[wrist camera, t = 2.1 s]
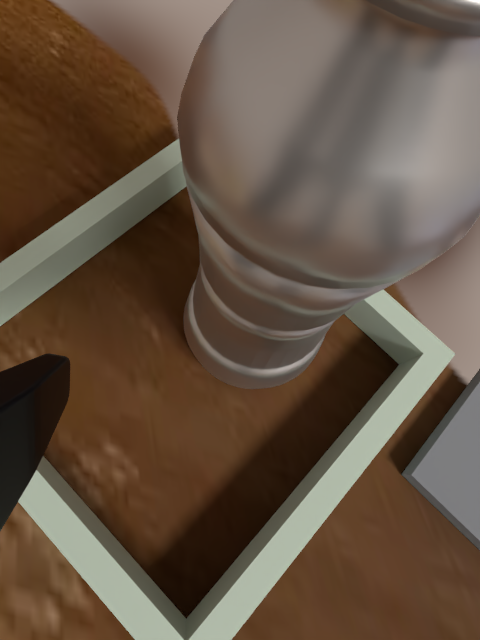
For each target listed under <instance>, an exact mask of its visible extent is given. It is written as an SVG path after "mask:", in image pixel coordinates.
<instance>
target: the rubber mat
mask: <svg viewBox="0 0 480 640" xmlns="http://www.w3.org/2000/svg"><path fill="white" fill-rule="evenodd" d="M401 475H402V476H403V477H404V478H406V479H407V480H408V481H409V482H410V483H411V484H412V485H413V486H414V487H415V488H416V489H417V490H418V491H419V492H420V493H421V494H422V495H423V496H424V497H425V498H426V499H427V500H428V501H429V502H430V503H431V504H432V505H433V506H434V507H435V508H437V509H438V510H439V511H440V512H441V513H442V514H443V515H444V516H445V517H446V518H447V519H448V520H449V521H450V522H451V523H452V524H453V525H454V526H455V527H456V528H457V529H458V530H459V531H460V532H461V533H462V534H463V535H464V536H465V537H467V538H468V539H469V540H470V541H471V542H472V543H473V544H474V545H475V546H476V547H477V548H478V549H479V550H480V369H479V371H478V372H477V374H476V375H475V376H474V378H473V379H472V380H471V382H470V383H469V384H468V386H467V387H466V388H465V390H464V391H463V392H462V394H461V395H460V396H459V398H458V399H457V400H456V402H455V403H454V404H453V406H452V407H451V408H450V410H449V411H448V412H447V414H446V415H445V416H444V418H443V419H442V420H441V422H440V423H439V424H438V426H437V427H436V428H435V430H434V431H433V432H432V434H431V435H430V436H429V438H428V439H427V441H426V442H425V443H424V445H423V446H422V447H421V449H420V450H419V451H418V453H417V454H416V455H415V457H414V458H413V459H412V461H411V462H410V463H409V465H408V466H407V467H406V469H405V470H404V471H403V473H402V474H401Z"/></svg>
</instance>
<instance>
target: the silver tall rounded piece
mask: <svg viewBox="0 0 480 640" xmlns="http://www.w3.org/2000/svg"><path fill="white" fill-rule="evenodd" d="M177 120H178V131H179V143H180V150H181V157H182V167H183V173H184V176H185V179H186V185H187V189H188V193H189V198H190V202H191V206H192V210H193V214H194V218H195V223H196V227H197V231H198V237H199V251H200V266H199V270H198V274H197V278H196V280H195V282H194V283H193V285H192V288H191V290H190V293H189V296H188V298H187V301H186V304H185V309H184V316H183V323H184V332H185V336H186V339H187V343H188V345H189V347H190V349H191V351H192V352H193V354H194V356H195V357H196V359H197V360H198V361H199V362H200V363H201V365H202V366H203V367H204V368H205V369H206V370H207V371H208V372H209V373H210V374H212V375H213V376H214V377H215V378H217V379H219V380H221V381H223V382H224V383H226V384H229V385H232V386H236V387H239V388H247V389H260V388H271V387H274V386H278V385H282V384H284V383H286V382H288V381H290V380H292V379H294V378H296V377H297V376H298V375H299V374H301V373H302V372H303V371H304V370H305V369H306V368H307V367H308V366H309V364H310V363H311V362H312V361H313V359H314V358H315V356H316V354H317V352H318V350H319V348H320V346H321V344H322V342H323V340H324V337H325V334H326V332H327V331H328V330H329V328H330V327H331V325H332V324H333V322H334V321H335V320H337V319H338V318H339V317H340V316H342V315H343V314H344V313H345V312H347V311H348V310H349V309H350V308H352V307H353V306H354V305H355V304H357V303H359V302H360V301H362V300H364V299H366V298H368V297H370V296H371V295H373V294H375V293H377V292H379V291H381V290H383V289H384V288H386V287H388V286H390V285H392V284H394V283H395V282H397V281H399V280H401V279H403V278H405V277H407V276H408V275H410V274H412V273H414V272H416V271H418V270H420V269H421V268H423V267H424V266H425V265H426V264H428V263H430V262H431V261H432V260H434V259H435V258H437V257H438V256H440V255H441V254H443V253H444V252H446V251H447V250H448V249H449V248H451V247H452V246H453V245H454V244H456V243H457V242H458V241H459V240H460V239H462V238H463V237H464V236H465V235H466V233H467V232H468V231H469V229H470V228H471V227H472V225H473V224H474V223H475V221H476V220H477V218H478V217H479V215H480V0H233V2H232V3H231V4H230V5H229V6H228V7H227V9H226V10H225V11H224V12H223V14H222V15H221V16H220V17H219V18H218V19H217V21H216V22H215V23H214V24H213V25H212V27H211V28H210V29H209V30H208V31H207V32H206V34H205V35H204V37H203V40H202V41H201V43H200V45H199V48H198V50H197V52H196V54H195V56H194V59H193V62H192V65H191V68H190V70H189V73H188V77H187V79H186V82H185V85H184V88H183V91H182V94H181V100H180V106H179V111H178V116H177Z"/></svg>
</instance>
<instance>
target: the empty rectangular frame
mask: <svg viewBox="0 0 480 640" xmlns="http://www.w3.org/2000/svg"><path fill="white" fill-rule="evenodd" d="M186 186H187V185H186V179H185V176H184V173H183V167H182V157H181V150H180V143H179V139H177V140H176V141H174V142H173V143H172V144H170V145H169V146H167V147H166V148H164V149H163V150H161V151H160V152H159V153H157V154H156V155H154V156H153V157H151V158H150V159H149V160H147V161H146V162H144V163H143V164H141V165H140V166H139V167H137V168H136V169H134V170H133V171H131V172H130V173H128V174H127V175H126V176H124V177H123V178H121V179H120V180H118V181H117V182H116V183H114V184H113V185H111V186H110V187H108V188H107V189H106V190H104V191H103V192H101V193H100V194H98V195H97V196H95V197H94V198H93V199H91V200H90V201H88V202H87V203H85V204H84V205H83V206H81V207H80V208H78V209H77V210H75V211H74V212H73V213H71V214H70V215H68V216H67V217H65V218H64V219H63V220H61V221H60V222H58V223H57V224H55V225H54V226H52V227H51V228H50V229H48V230H47V231H45V232H44V233H42V234H41V235H40V236H38V237H37V238H35V239H34V240H32V241H31V242H30V243H28V244H27V245H25V246H24V247H22V248H21V249H19V250H18V251H17V252H15V253H14V254H12V255H11V256H9V257H8V258H7V259H5V260H4V261H2V262H1V263H0V326H1V325H2V324H4V323H5V322H6V321H8V320H9V319H10V318H12V317H13V316H14V315H16V314H17V313H18V312H20V311H21V310H22V309H24V308H25V307H26V306H28V305H29V304H30V303H32V302H33V301H34V300H36V299H37V298H38V297H40V296H41V295H42V294H44V293H45V292H46V291H48V290H49V289H50V288H52V287H53V286H54V285H56V284H57V283H58V282H60V281H61V280H62V279H64V278H65V277H66V276H68V275H69V274H70V273H72V272H73V271H74V270H76V269H77V268H78V267H80V266H81V265H82V264H84V263H85V262H86V261H88V260H89V259H90V258H92V257H93V256H94V255H96V254H97V253H98V252H100V251H101V250H102V249H104V248H105V247H106V246H108V245H109V244H110V243H112V242H113V241H114V240H116V239H117V238H118V237H120V236H121V235H122V234H124V233H125V232H126V231H128V230H129V229H130V228H132V227H133V226H134V225H136V224H137V223H138V222H140V221H141V220H142V219H144V218H145V217H146V216H148V215H149V214H150V213H151V212H153V211H154V210H155V209H157V208H158V207H159V206H161V205H162V204H163V203H165V202H166V201H167V200H169V199H170V198H171V197H173V196H174V195H175V194H177V193H178V192H179V191H181V190H182V189H183V188H185V187H186ZM344 314H345V315H346V316H347V317H348V318H349V319H350V320H351V321H352V322H353V323H355V324H356V325H357V326H358V327H359V328H360V329H361V330H362V331H363V332H364V333H365V334H367V335H368V336H369V337H370V338H371V339H372V340H373V341H374V342H375V343H376V344H377V345H378V346H380V347H381V348H382V349H383V350H384V351H385V352H386V353H387V354H388V355H389V356H390V357H392V358H393V359H394V360H395V361H396V362H397V363H398V364H399V365H398V367H397V368H396V369H395V370H394V371H393V373H392V374H391V375H390V376H389V377H388V379H387V380H386V381H385V382H384V383H383V385H382V386H381V387H380V388H379V389H378V391H377V392H376V393H375V394H374V395H373V396H372V398H371V399H370V400H369V401H368V402H367V404H366V405H365V406H364V407H363V408H362V410H361V411H360V412H359V413H358V414H357V416H356V417H355V418H354V419H353V420H352V422H351V423H350V424H349V425H348V426H347V428H346V429H345V430H344V431H343V432H342V434H341V435H340V436H339V437H338V438H337V439H336V441H335V442H334V443H333V444H332V445H331V447H330V448H329V449H328V450H327V451H326V453H325V454H324V455H323V456H322V457H321V459H320V460H319V461H318V462H317V463H316V465H315V466H314V467H313V468H312V469H311V471H310V472H309V473H308V474H307V475H306V476H305V478H304V479H303V480H302V481H301V482H300V484H299V485H298V486H297V487H296V488H295V490H294V491H293V492H292V493H291V494H290V496H289V497H288V498H287V499H286V500H285V502H284V503H283V504H282V505H281V506H280V508H279V509H278V510H277V511H276V512H275V513H274V515H273V516H272V517H271V518H270V519H269V521H268V522H267V523H266V524H265V525H264V527H263V528H262V529H261V530H260V531H259V533H258V534H257V535H256V536H255V537H254V539H253V540H252V541H251V542H250V543H249V545H248V546H247V547H246V548H245V549H244V551H243V552H242V553H241V554H240V555H239V556H238V558H237V559H236V560H235V561H234V562H233V564H232V565H231V566H230V567H229V568H228V570H227V571H226V572H225V573H224V574H223V576H222V577H221V578H220V579H219V580H218V582H217V583H216V584H215V585H214V586H213V588H212V589H211V590H210V591H209V592H208V593H207V595H206V596H205V597H204V598H203V599H202V601H201V602H200V603H199V604H198V605H197V607H196V608H195V609H194V610H193V611H192V613H191V614H190V615H189V616H188V617H187V619H186V618H185V617H184V616H183V615H182V613H181V612H180V611H179V610H178V609H177V608H176V607H175V605H174V604H173V603H172V602H171V601H170V600H169V599H168V597H167V596H166V595H165V594H164V593H163V592H162V591H161V589H160V588H159V587H158V586H157V585H156V584H155V583H154V581H153V580H152V579H151V578H150V577H149V576H148V575H147V573H146V572H145V571H144V570H143V569H142V568H141V567H140V565H139V564H138V563H137V562H136V561H135V560H134V559H133V557H132V556H131V555H130V554H129V553H128V552H127V551H126V549H125V548H124V547H123V546H122V545H121V544H120V543H119V542H118V540H117V539H116V538H115V537H114V536H113V535H112V534H111V532H110V531H109V530H108V529H107V528H106V527H105V526H104V524H103V523H102V522H101V521H100V520H99V519H98V518H97V516H96V515H95V514H94V513H93V512H92V511H91V510H90V508H89V507H88V506H87V505H86V504H85V503H84V502H83V500H82V499H81V498H80V497H79V496H78V495H77V494H76V492H75V491H74V490H73V489H72V488H71V487H70V486H69V484H68V483H67V482H66V481H65V480H64V479H63V478H62V476H61V475H60V474H59V473H58V472H57V471H56V470H55V468H54V467H53V466H52V465H51V464H50V463H49V462H48V461H47V459H46V458H45V457H44V456H43V457H42V459H41V461H40V463H39V465H38V467H37V470H36V472H35V473H34V475H33V477H32V479H31V480H30V482H29V484H28V486H27V487H26V489H25V491H24V492H23V494H22V496H21V497H20V499H19V501H18V502H19V503H20V504H21V506H22V507H23V508H24V509H25V510H26V511H27V513H28V514H29V515H30V516H31V517H32V518H33V520H34V521H35V522H36V523H37V524H38V526H39V527H40V528H41V529H42V530H43V531H44V533H45V534H46V535H47V536H48V537H49V539H50V540H51V541H52V542H53V543H54V544H55V546H56V547H57V548H58V549H59V550H60V552H61V553H62V554H63V555H64V556H65V557H66V559H67V560H68V561H69V562H70V563H71V565H72V566H73V567H74V568H75V569H76V570H77V572H78V573H79V574H80V575H81V576H82V578H83V579H84V580H85V581H86V582H87V583H88V585H89V586H90V587H91V588H92V589H93V591H94V592H95V593H96V594H97V595H98V596H99V598H100V599H101V600H102V601H103V602H104V604H105V605H106V606H107V607H108V608H109V609H110V611H111V612H112V613H113V614H114V615H115V617H116V618H117V619H118V620H119V621H120V622H121V624H122V625H123V626H124V627H125V628H126V629H127V631H128V632H129V633H130V634H131V635H132V637H133V638H134V639H135V640H231V639H232V638H233V637H234V636H235V634H236V633H237V632H238V631H239V629H240V628H241V627H242V625H243V624H244V623H245V622H246V620H247V619H248V618H249V616H250V615H251V614H252V613H253V611H254V610H255V609H256V608H257V606H258V605H259V604H260V602H261V601H262V600H263V599H264V597H265V596H266V595H267V594H268V592H269V591H270V590H271V588H272V587H273V586H274V585H275V583H276V582H277V581H278V580H279V578H280V577H281V576H282V574H283V573H284V572H285V571H286V569H287V568H288V567H289V566H290V564H291V563H292V562H293V560H294V559H295V558H296V557H297V555H298V554H299V553H300V552H301V550H302V549H303V548H304V546H305V545H306V544H307V543H308V541H309V540H310V539H311V538H312V536H313V535H314V534H315V532H316V531H317V530H318V529H319V527H320V526H321V525H322V524H323V522H324V521H325V520H326V518H327V517H328V516H329V515H330V513H331V512H332V511H333V509H334V508H335V507H336V506H337V504H338V503H339V502H340V501H341V499H342V498H343V497H344V495H345V494H346V493H347V492H348V490H349V489H350V488H351V487H352V485H353V484H354V483H355V481H356V480H357V479H358V478H359V476H360V475H361V474H362V473H363V471H364V470H365V469H366V467H367V466H368V465H369V464H370V462H371V461H372V460H373V459H374V457H375V456H376V455H377V453H378V452H379V451H380V450H381V448H382V447H383V446H384V445H385V443H386V442H387V441H388V439H389V438H390V437H391V436H392V434H393V433H394V432H395V431H396V429H397V428H398V427H399V425H400V424H401V423H402V422H403V420H404V419H405V418H406V417H407V415H408V414H409V413H410V411H411V410H412V409H413V408H414V406H415V405H416V404H417V402H418V401H419V400H420V399H421V397H422V396H423V395H424V394H425V392H426V391H427V390H428V388H429V387H430V386H431V385H432V383H433V382H434V381H435V380H436V378H437V377H438V376H439V374H440V373H441V372H442V371H443V369H444V368H445V367H446V366H447V364H448V363H449V362H450V360H451V359H452V358H453V357H454V355H455V353H454V352H453V351H452V350H450V349H449V348H448V347H447V346H446V345H445V344H444V343H443V342H442V341H440V340H439V339H438V338H437V337H436V336H435V335H434V334H433V333H431V332H430V331H429V330H428V329H427V328H426V327H425V326H424V325H422V324H421V323H420V322H419V321H418V320H417V319H416V318H415V317H413V316H412V315H411V314H410V313H409V312H408V311H407V310H406V309H405V308H403V307H402V306H401V305H400V304H399V303H398V302H397V301H396V300H394V299H393V298H392V297H391V296H390V295H389V294H388V293H387V292H385V291H384V290H381V291H379V292H377V293H375V294H373V295H371V296H370V297H368V298H366V299H364V300H362V301H360V302H359V303H357V304H355V305H354V306H353V307H352V308H350V309H349V310H348V311H347V312H345V313H344Z"/></svg>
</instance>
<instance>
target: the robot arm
mask: <svg viewBox="0 0 480 640" xmlns="http://www.w3.org/2000/svg"><path fill="white" fill-rule="evenodd" d="M69 391H70V361H69V359H68V358H67V357H65V356H60V355H54V354H44V355H42V356H39V357H37V358H34V359H32V360H29V361H27V362H24V363H22V364H19V365H17V366H14V367H12V368H9V369H7V370H4V371H1V372H0V531H1V529H2V527H3V526H4V524H5V522H6V521H7V519H8V517H9V516H10V514H11V512H12V511H13V509H14V507H15V506H16V504H17V502H18V501H19V499H20V497H21V496H22V494H23V492H24V491H25V489H26V487H27V486H28V484H29V482H30V480H31V479H32V477H33V475H34V473H35V472H36V470H37V467H38V465H39V463H40V461H41V459H42V457H43V455H44V452H45V450H46V448H47V446H48V444H49V441H50V439H51V437H52V435H53V433H54V430H55V428H56V426H57V424H58V422H59V419H60V417H61V415H62V413H63V411H64V408H65V406H66V404H67V401H68V397H69Z"/></svg>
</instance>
